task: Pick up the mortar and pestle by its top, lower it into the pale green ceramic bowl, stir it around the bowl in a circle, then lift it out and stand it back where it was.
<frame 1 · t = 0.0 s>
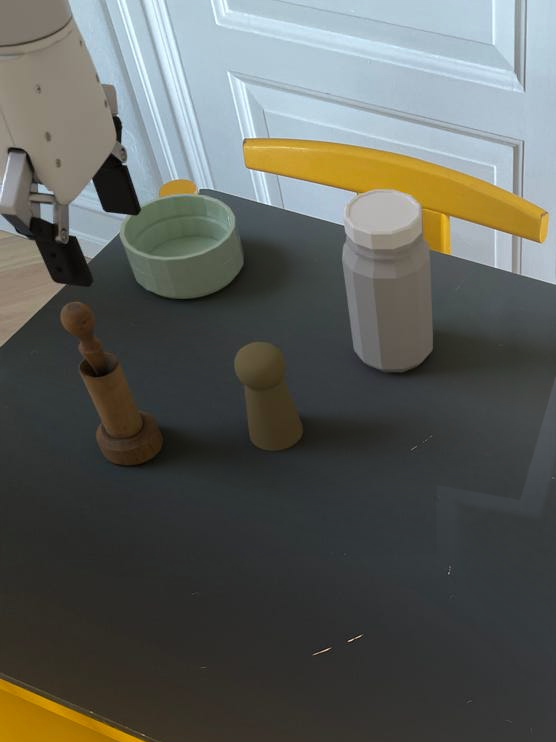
hand: (99, 246, 72), 28 cm above the table, tool pointing down, fingers open, 9 cm apart
board game pawn: (276, 432, 100), on the table
jar: (394, 351, 108), on the table
bowl: (190, 268, 116), on the table
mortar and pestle: (133, 446, 99), on the table
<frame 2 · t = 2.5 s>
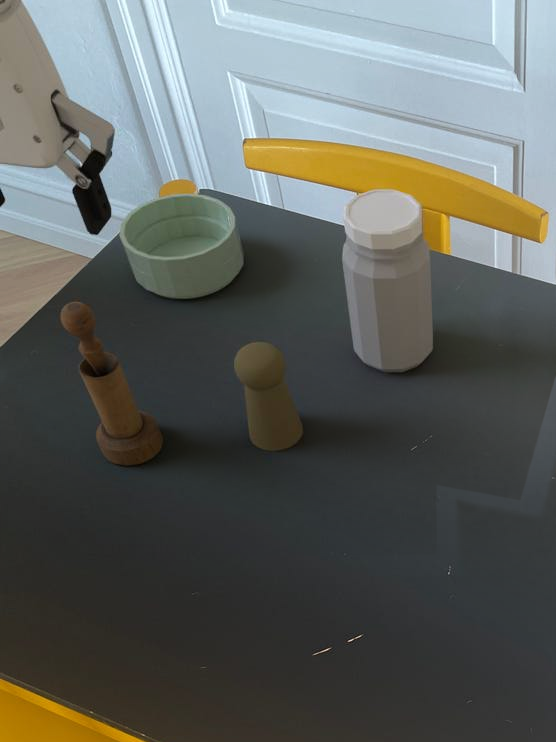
hand: (47, 218, 75), 28 cm above the table, tool pointing down, fingers open, 9 cm apart
nothing on the table moved.
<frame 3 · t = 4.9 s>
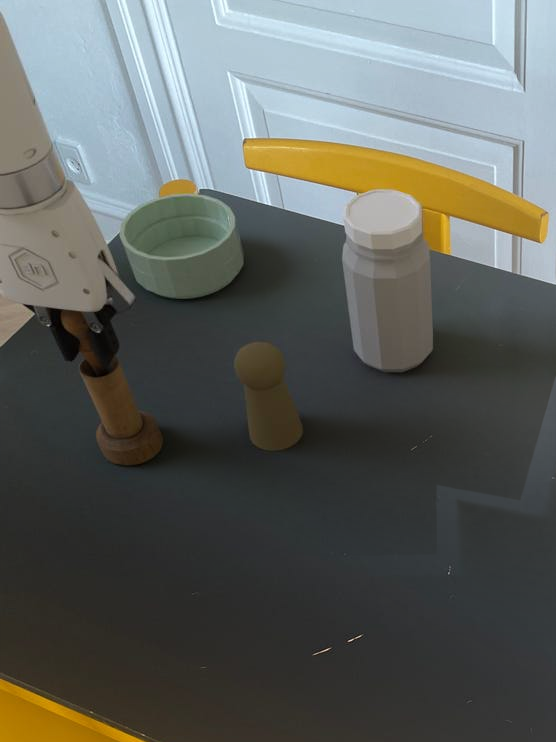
hand: (92, 353, 88), 13 cm above the table, tool pointing down, fingers closed on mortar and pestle, 3 cm apart
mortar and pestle: (133, 446, 99), on the table, touching gripper
everything else where it was.
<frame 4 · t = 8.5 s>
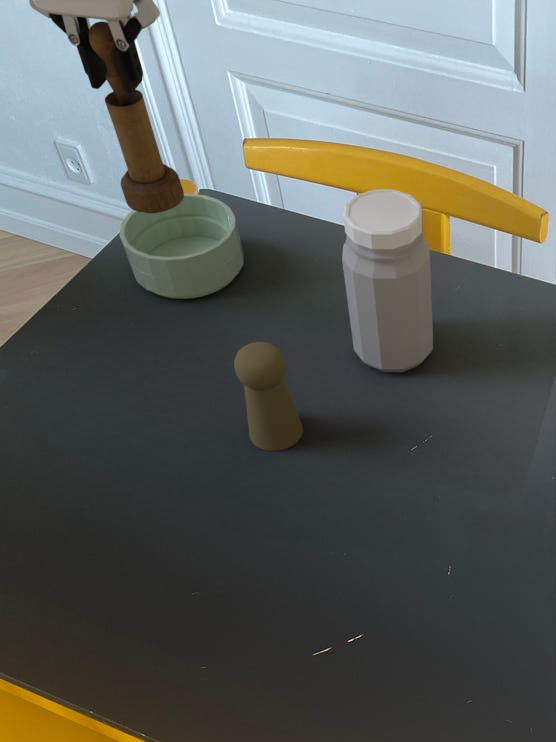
hand: (117, 82, 93), 25 cm above the table, tool pointing down, fingers closed on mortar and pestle, 3 cm apart
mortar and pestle: (156, 200, 104), point 12 cm above the table, touching gripper
everything else where it was.
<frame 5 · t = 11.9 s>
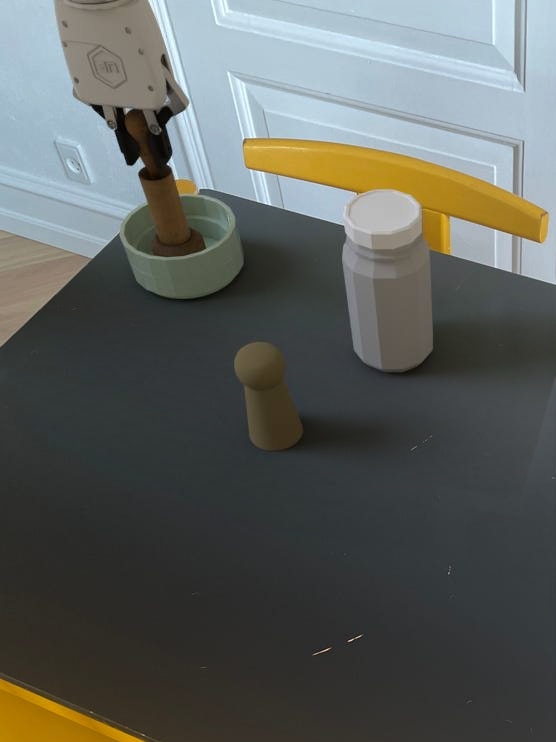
hand: (149, 160, 104), 15 cm above the table, tool pointing down, fingers closed on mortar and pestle, 3 cm apart
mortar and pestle: (182, 259, 114), point 2 cm above the table, touching gripper
everything else where it was.
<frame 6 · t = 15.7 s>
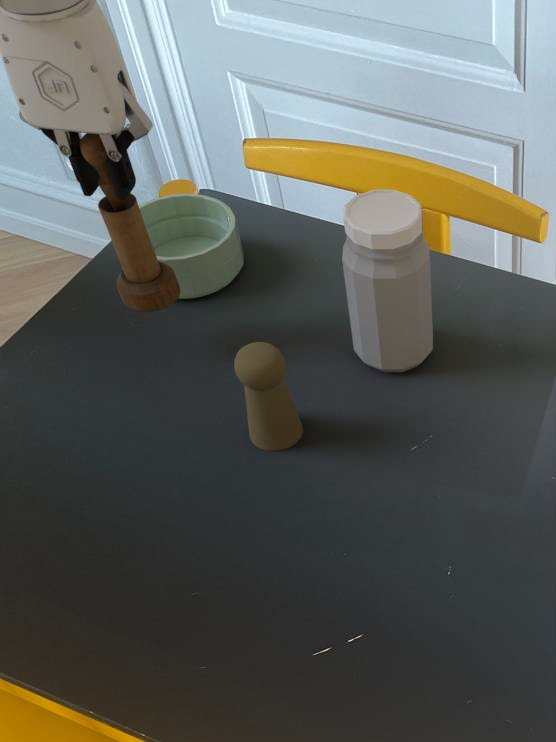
hand: (109, 189, 91), 20 cm above the table, tool pointing down, fingers closed on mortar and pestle, 3 cm apart
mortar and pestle: (152, 296, 102), point 7 cm above the table, touching gripper
everything else where it was.
when the fingers open (13 cm above the table, at t = 18.7 s): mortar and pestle stays where it is, on the table.
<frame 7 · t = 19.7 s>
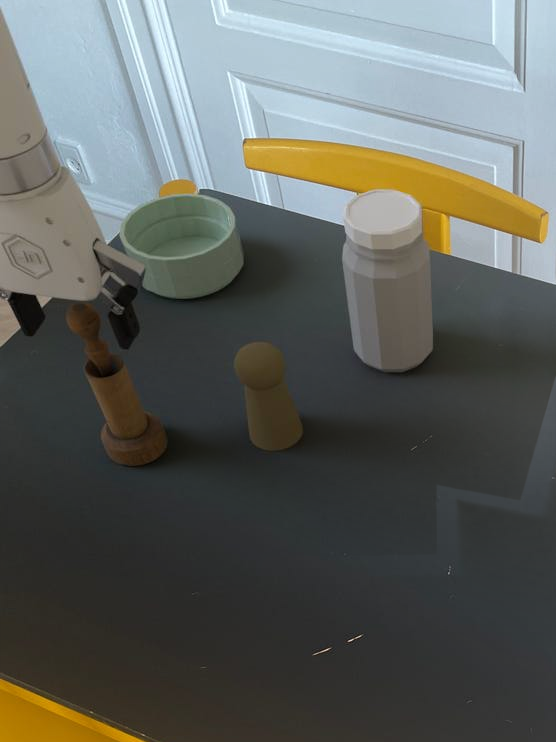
hand: (83, 333, 86), 15 cm above the table, tool pointing down, fingers open, 9 cm apart
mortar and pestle: (138, 447, 99), on the table
everything else where it was.
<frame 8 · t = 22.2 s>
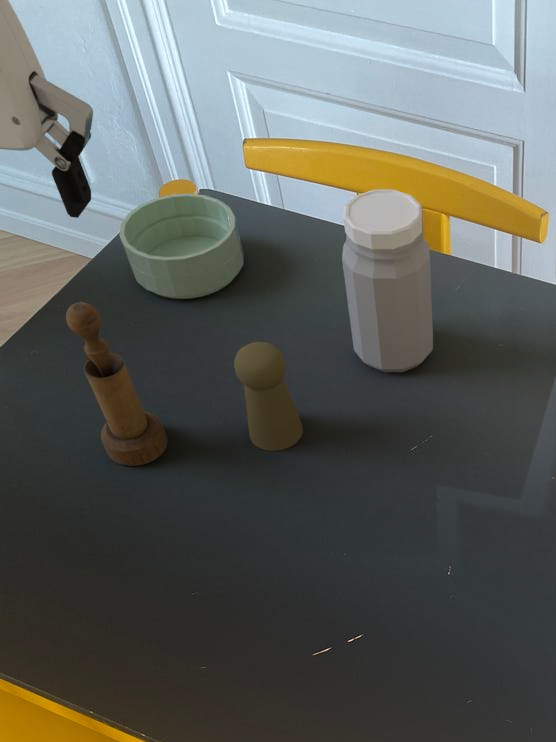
hand: (26, 202, 75), 28 cm above the table, tool pointing down, fingers open, 9 cm apart
nothing on the table moved.
at the end: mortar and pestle tilted 0°; the gripper is holding nothing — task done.
